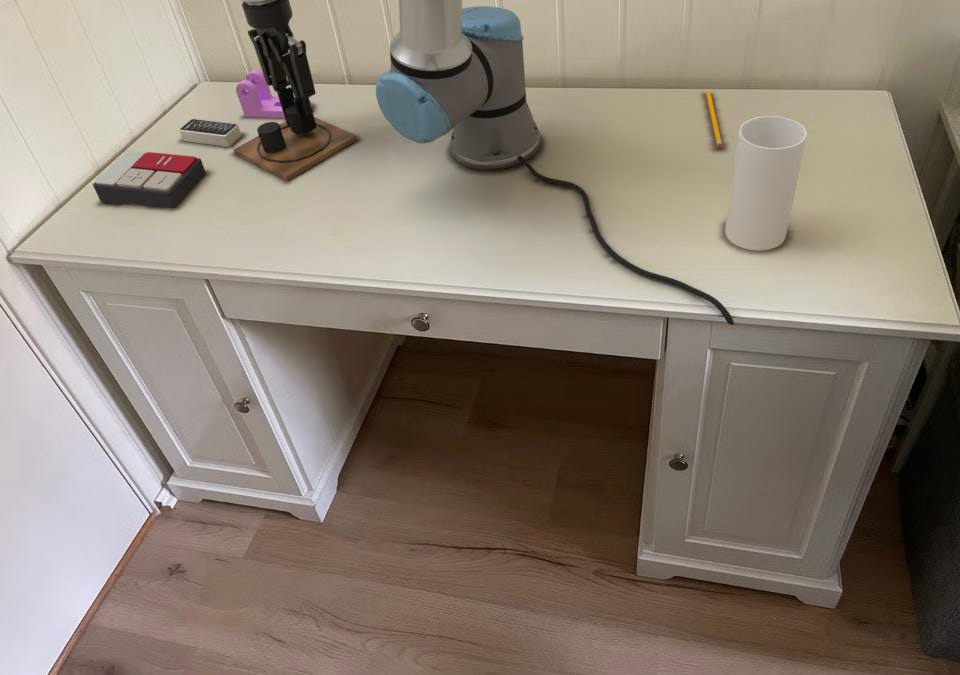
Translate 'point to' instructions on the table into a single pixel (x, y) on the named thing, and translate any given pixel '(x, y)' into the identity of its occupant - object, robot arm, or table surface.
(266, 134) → the eye puck
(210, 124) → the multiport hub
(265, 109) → the bracket
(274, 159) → the board
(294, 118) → the eye puck
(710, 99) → the pencil
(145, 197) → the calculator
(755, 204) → the cup
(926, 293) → the table surface
